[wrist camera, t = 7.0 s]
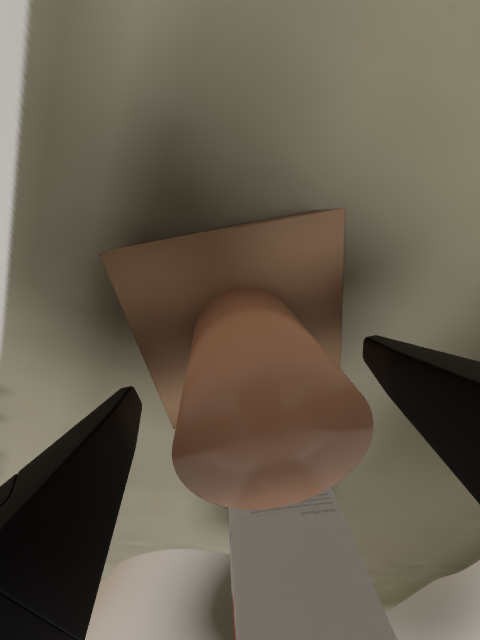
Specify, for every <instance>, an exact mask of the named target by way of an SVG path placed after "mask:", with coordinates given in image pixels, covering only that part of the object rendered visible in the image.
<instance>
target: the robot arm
mask: <svg viewBox="0 0 480 640" xmlns="http://www.w3.org/2000/svg"><path fill="white" fill-rule="evenodd" d="M363 359H364V361H365V363H366V364H367V366H368V367H369V369H370V370H371V371H372V373H373V374H374V376H375V377H376V379H377V380H378V382H379V383H380V385H381V386H382V388H383V389H384V390H385V392H386V393H387V394H388V396H389V397H390V398H391V399H392V401H393V402H394V403H395V404H396V405H397V407H398V408H399V409H400V410H401V411H402V412H403V414H404V415H405V416H406V417H407V418H408V420H409V421H410V422H411V423H412V424H413V426H414V427H415V428H416V429H417V430H418V432H419V433H420V434H421V435H422V436H423V437H424V439H425V440H426V441H427V442H428V443H429V445H430V446H431V447H432V448H433V449H434V451H435V452H436V453H437V454H438V455H439V456H440V458H441V459H442V460H443V461H444V462H445V464H446V465H447V466H448V467H449V468H450V470H451V471H452V472H453V473H454V474H455V476H456V477H457V478H458V479H459V480H460V481H461V483H462V484H463V485H464V486H465V487H466V489H467V490H468V491H469V492H470V493H471V495H472V496H473V497H474V498H475V499H476V501H477V502H478V503H479V504H480V362H479V361H475V360H471V359H467V358H463V357H459V356H455V355H451V354H448V353H444V352H440V351H436V350H432V349H428V348H424V347H420V346H416V345H413V344H409V343H405V342H401V341H397V340H393V339H389V338H385V337H381V336H377V335H374V336H369V337H366V338H365V339H364V343H363ZM141 411H142V403H141V401H140V399H139V396H138V394H137V392H136V390H135V388H134V387H132V386H130V387H125V388H121V389H120V390H118V391H117V392H116V393H115V394H113V395H112V396H111V397H110V398H108V399H107V400H106V401H105V402H104V403H102V404H101V405H100V406H99V407H97V408H96V409H95V410H94V411H93V412H91V413H90V414H89V415H88V416H86V417H85V418H84V419H83V420H81V421H80V422H79V423H78V424H77V425H75V426H74V427H73V428H72V429H70V430H69V431H68V432H67V433H66V434H64V435H63V436H62V437H61V438H59V439H58V440H57V441H56V442H54V443H53V444H52V445H51V446H50V447H48V448H47V449H46V450H45V451H43V452H42V453H41V454H40V455H39V456H37V457H36V458H35V459H34V460H32V461H31V462H30V463H29V464H27V465H26V466H25V467H24V468H23V469H21V470H20V471H19V472H18V474H15V475H14V476H13V477H11V478H10V479H9V480H8V481H7V482H5V483H4V484H3V485H2V486H0V640H85V636H86V633H87V629H88V625H89V622H90V618H91V614H92V610H93V607H94V603H95V599H96V595H97V592H98V588H99V584H100V580H101V577H102V573H103V569H104V565H105V562H106V558H107V554H108V550H109V547H110V543H111V539H112V535H113V531H114V528H115V524H116V520H117V516H118V513H119V509H120V505H121V501H122V498H123V494H124V490H125V486H126V483H127V479H128V475H129V471H130V468H131V464H132V460H133V456H134V452H135V448H136V443H137V436H138V430H139V424H140V417H141Z"/></svg>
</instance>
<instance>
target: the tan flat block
mask: <svg viewBox="0 0 480 640" xmlns="http://www.w3.org/2000/svg"><path fill="white" fill-rule="evenodd" d="M344 225H345V208H337V209H326V210H316V211H310V212H304V213H299V214H294V215H288V216H283V217H278V218H273V219H267V220H262V221H257V222H251V223H246V224H241V225H235V226H230V227H225V228H219V229H214V230H209V231H203V232H198V233H193V234H188V235H182V236H177V237H172V238H166V239H161V240H156V241H150V242H145V243H140V244H134V245H129V246H125V247H121V248H118V249H115V250H111V251H108V252H105V253H101V254H99V255H100V257H101V259H102V262H103V264H104V266H105V269H106V271H107V273H108V276H109V278H110V280H111V283H112V285H113V288H114V290H115V292H116V295H117V297H118V299H119V302H120V304H121V306H122V309H123V311H124V313H125V316H126V318H127V321H128V323H129V325H130V328H131V330H132V332H133V335H134V337H135V339H136V342H137V344H138V346H139V349H140V351H141V354H142V356H143V358H144V361H145V363H146V365H147V368H148V370H149V372H150V375H151V377H152V379H153V382H154V384H155V387H156V389H157V391H158V394H159V396H160V398H161V401H162V403H163V405H164V408H165V410H166V412H167V415H168V417H169V420H170V422H171V424H172V427H173V429H176V424H177V419H178V413H179V408H180V403H181V397H182V392H183V386H184V381H185V376H186V370H187V365H188V359H189V354H190V349H191V343H192V338H193V332H194V327H195V323H196V321H197V318H198V316H199V314H200V313H201V311H202V310H203V308H204V307H205V306H206V305H207V304H208V303H209V302H210V301H211V300H212V299H214V298H215V297H217V296H218V295H220V294H222V293H224V292H227V291H229V290H233V289H237V288H258V289H262V290H265V291H268V292H270V293H272V294H274V295H275V296H277V297H278V298H279V299H281V300H282V301H283V302H284V303H285V304H286V306H287V307H288V308H289V309H290V310H291V311H292V313H293V314H294V315H295V316H296V317H297V319H298V320H299V321H300V322H301V323H302V324H303V326H304V327H305V328H306V329H307V330H308V331H309V333H310V334H311V335H312V336H313V337H314V339H315V340H316V341H317V342H318V343H319V344H320V346H321V347H322V348H323V349H324V350H325V352H326V353H327V354H328V355H329V356H330V357H331V359H332V360H333V361H334V362H335V363H336V365H337V366H338V367H339V368H340V369H341V333H342V297H343V261H344Z"/></svg>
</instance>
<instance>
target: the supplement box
mask: <svg viewBox="0 0 480 640" xmlns="http://www.w3.org/2000/svg"><path fill="white" fill-rule="evenodd" d="M229 534H230V561H231V584H232V604H233V624H234V626H233V627H234V640H397V638H396V636H395V634H394V631H393V629H392V627H391V624H390V622H389V620H388V618H387V615H386V613H385V611H384V608H383V606H382V604H381V601H380V599H379V597H378V595H377V592H376V590H375V588H374V585H373V583H372V581H371V578H370V576H369V574H368V571H367V569H366V567H365V564H364V562H363V560H362V558H361V555H360V553H359V551H358V548H357V546H356V544H355V541H354V539H353V537H352V534H351V532H350V530H349V528H348V525H347V523H346V521H345V518H344V516H343V514H342V511H341V509H340V507H339V505H338V502H337V500H336V498H335V495H334V493H333V491H332V488H331V487H330V488H329V489H327V490H325V491H324V492H322V493H320V494H318V495H316V496H314V497H311V498H309V499H306V500H304V501H301V502H298V503H295V504H291V505H287V506H283V507H278V508H271V509H262V510H244V509H234V508H229Z"/></svg>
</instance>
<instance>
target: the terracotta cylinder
mask: <svg viewBox="0 0 480 640" xmlns="http://www.w3.org/2000/svg"><path fill="white" fill-rule="evenodd" d="M372 432H373V418H372V412H371V410H370V407H369V404H368V403H367V401H366V400H365V398H364V396H363V395H362V394H361V393H360V392H359V391H358V389H357V388H356V387H355V386H354V385H353V383H352V382H351V381H350V380H349V379H348V378H347V376H346V375H345V374H344V373H343V372H342V370H341V369H340V368H339V367H338V366H337V365H336V363H335V362H334V361H333V360H332V359H331V357H330V356H329V355H328V354H327V353H326V352H325V350H324V349H323V348H322V347H321V346H320V344H319V343H318V342H317V341H316V340H315V339H314V337H313V336H312V335H311V334H310V333H309V331H308V330H307V329H306V328H305V327H304V326H303V324H302V323H301V322H300V321H299V320H298V319H297V317H296V316H295V315H294V314H293V313H292V311H291V310H290V309H289V308H288V307H287V306H286V304H285V303H284V302H283V301H282V300H281V299H279V298H278V297H277V296H275V295H274V294H272V293H270V292H268V291H265V290H262V289H258V288H237V289H233V290H229V291H227V292H224V293H222V294H220V295H218V296H217V297H215V298H214V299H212V300H211V301H210V302H209V303H208V304H207V305H206V306H205V307H204V308H203V310H202V311H201V313H200V314H199V316H198V318H197V321H196V323H195V327H194V332H193V338H192V343H191V349H190V354H189V359H188V365H187V370H186V376H185V381H184V386H183V392H182V397H181V403H180V408H179V413H178V419H177V424H176V430H175V435H174V441H173V447H172V459H173V465H174V468H175V471H176V473H177V475H178V477H179V478H180V480H181V481H182V483H183V484H184V485H185V486H186V487H187V488H188V489H189V490H190V491H191V492H193V493H194V494H196V495H197V496H199V497H200V498H202V499H204V500H206V501H208V502H211V503H214V504H216V505H219V506H224V507H228V508H234V509H244V510H262V509H271V508H278V507H283V506H287V505H291V504H295V503H298V502H301V501H304V500H306V499H309V498H311V497H314V496H316V495H318V494H320V493H322V492H324V491H325V490H327V489H329V488H330V487H332V486H334V485H335V484H336V483H338V482H339V481H340V480H342V479H343V478H344V477H345V476H346V475H348V474H349V473H350V472H351V471H352V470H353V469H354V467H355V466H356V465H357V464H358V463H359V461H360V460H361V459H362V457H363V456H364V454H365V452H366V450H367V449H368V446H369V443H370V441H371V437H372Z"/></svg>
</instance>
